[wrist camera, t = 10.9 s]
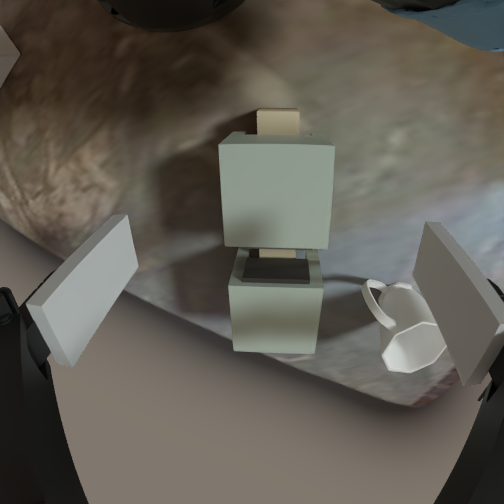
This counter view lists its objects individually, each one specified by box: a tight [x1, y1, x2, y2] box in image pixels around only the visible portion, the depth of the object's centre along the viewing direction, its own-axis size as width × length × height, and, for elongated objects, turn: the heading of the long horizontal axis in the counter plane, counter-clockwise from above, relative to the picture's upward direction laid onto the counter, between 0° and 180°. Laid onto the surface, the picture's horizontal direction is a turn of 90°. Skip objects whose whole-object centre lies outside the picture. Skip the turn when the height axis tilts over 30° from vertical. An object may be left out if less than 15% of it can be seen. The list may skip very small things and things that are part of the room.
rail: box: [228, 108, 324, 354], centre depth 25 cm, size 19×7×8 cm, turn 1°
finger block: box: [218, 131, 335, 250], centre depth 23 cm, size 7×7×6 cm
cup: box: [361, 279, 447, 373], centre depth 28 cm, size 7×10×8 cm
